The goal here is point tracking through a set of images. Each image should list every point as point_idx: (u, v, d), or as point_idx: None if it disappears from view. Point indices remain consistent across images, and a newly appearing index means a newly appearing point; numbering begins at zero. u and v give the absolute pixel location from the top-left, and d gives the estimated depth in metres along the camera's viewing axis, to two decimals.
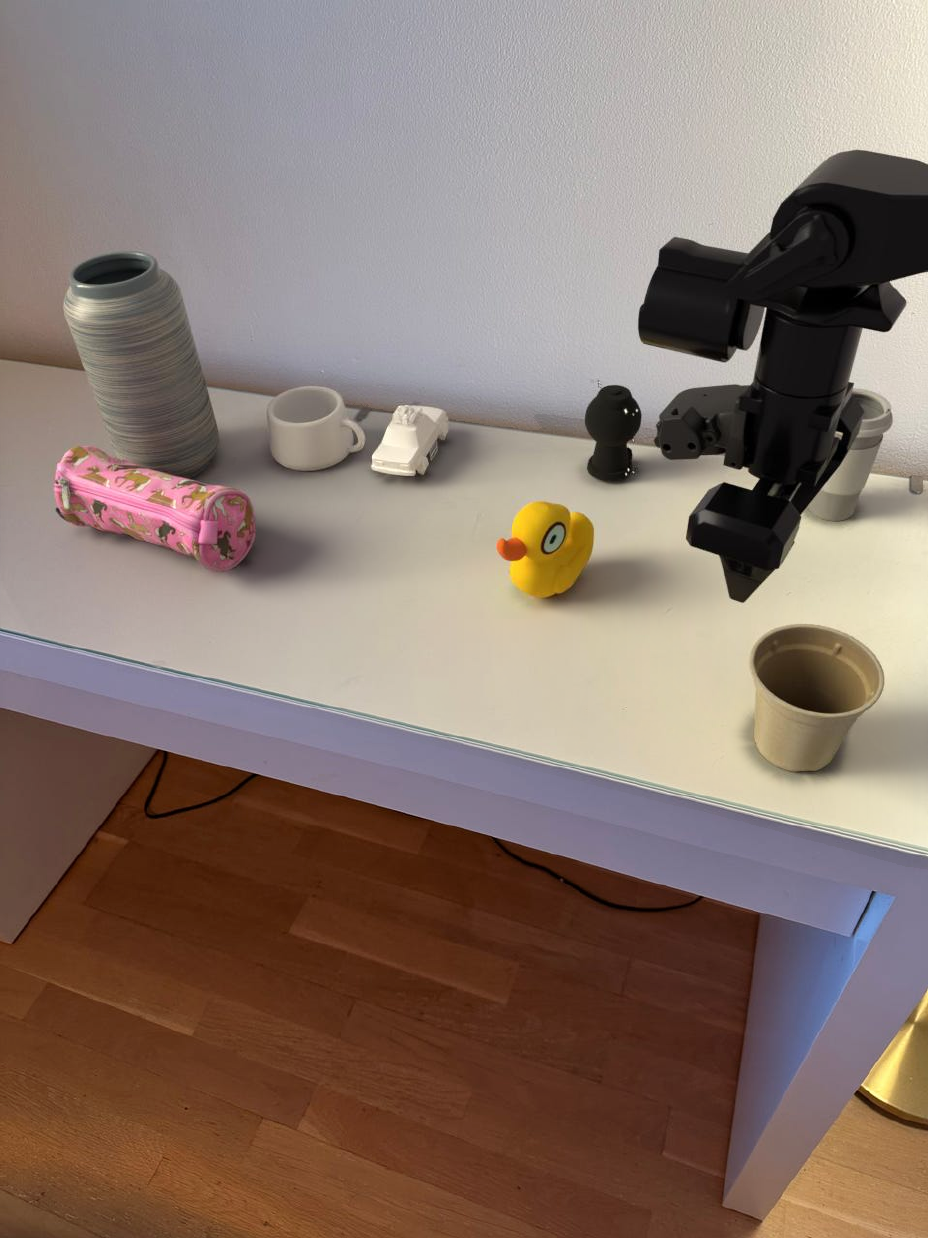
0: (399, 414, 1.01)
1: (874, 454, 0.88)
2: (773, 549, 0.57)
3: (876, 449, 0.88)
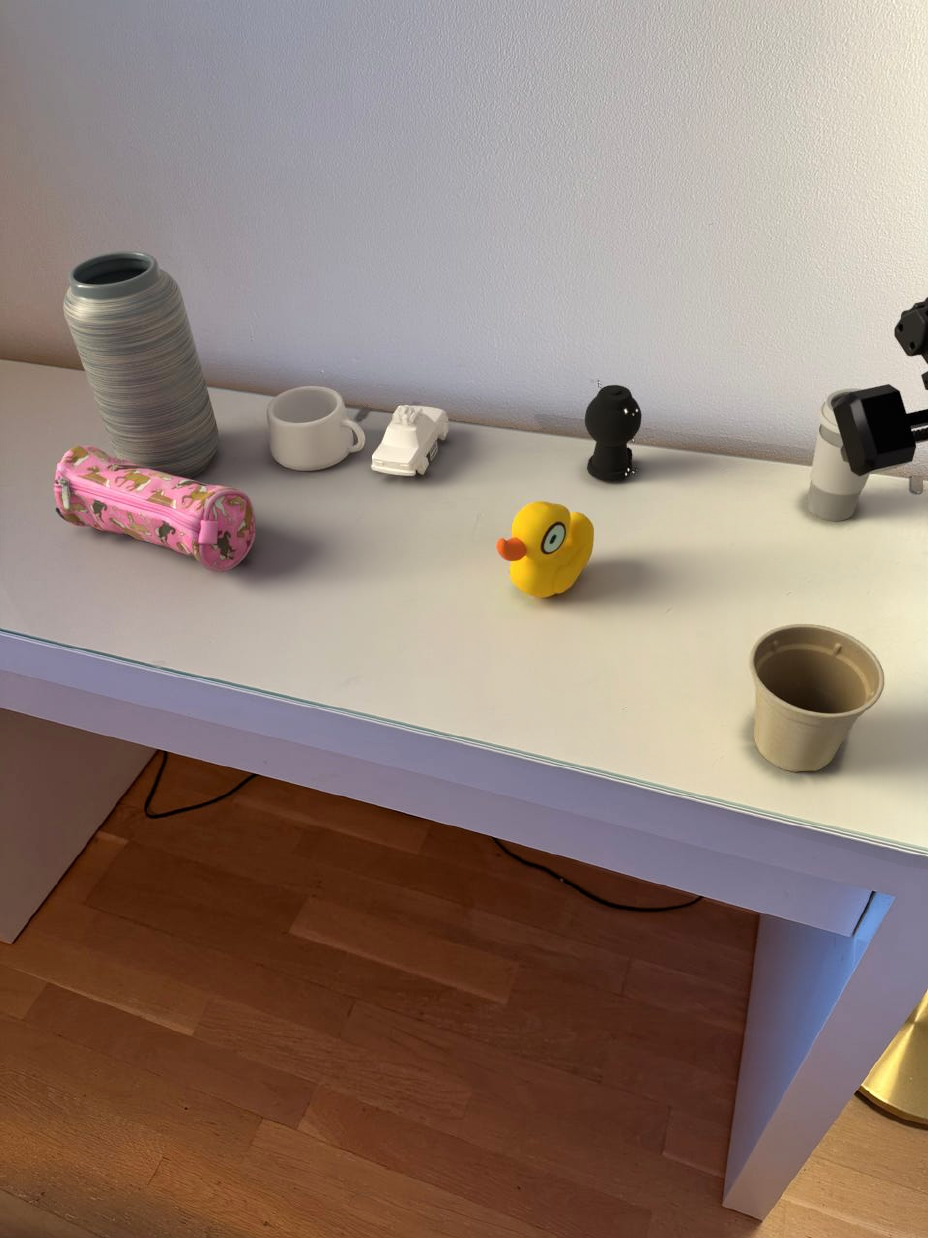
0: (399, 414, 1.01)
1: None
2: (865, 465, 0.69)
3: None
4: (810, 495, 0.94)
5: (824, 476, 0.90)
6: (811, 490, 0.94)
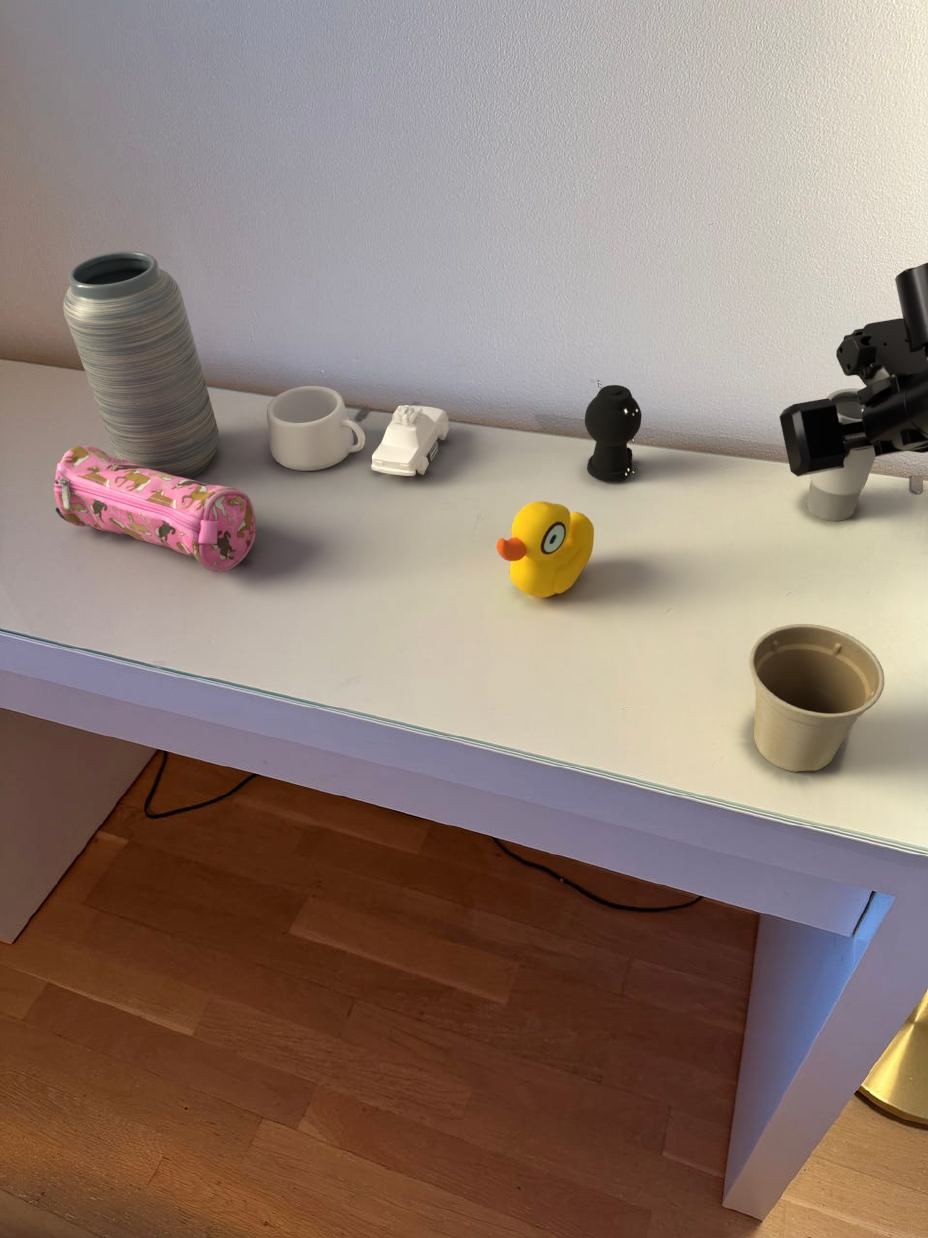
0: (399, 414, 1.01)
1: (873, 454, 0.88)
2: (801, 468, 0.82)
3: None
4: (810, 495, 0.94)
5: (824, 476, 0.91)
6: (811, 490, 0.94)
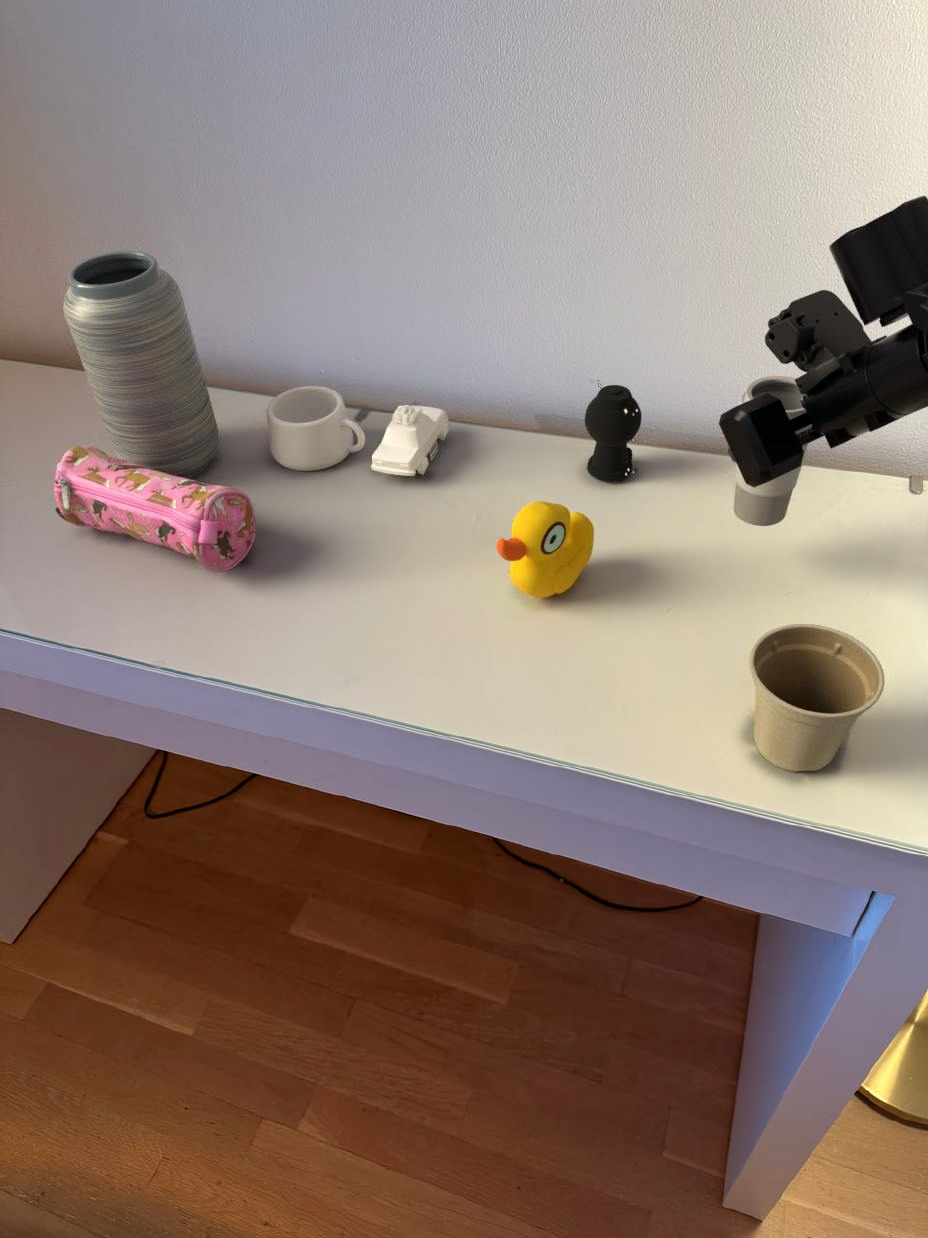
0: (399, 414, 1.01)
1: (807, 445, 0.78)
2: (761, 478, 0.70)
3: None
4: (739, 502, 0.83)
5: None
6: (740, 497, 0.83)
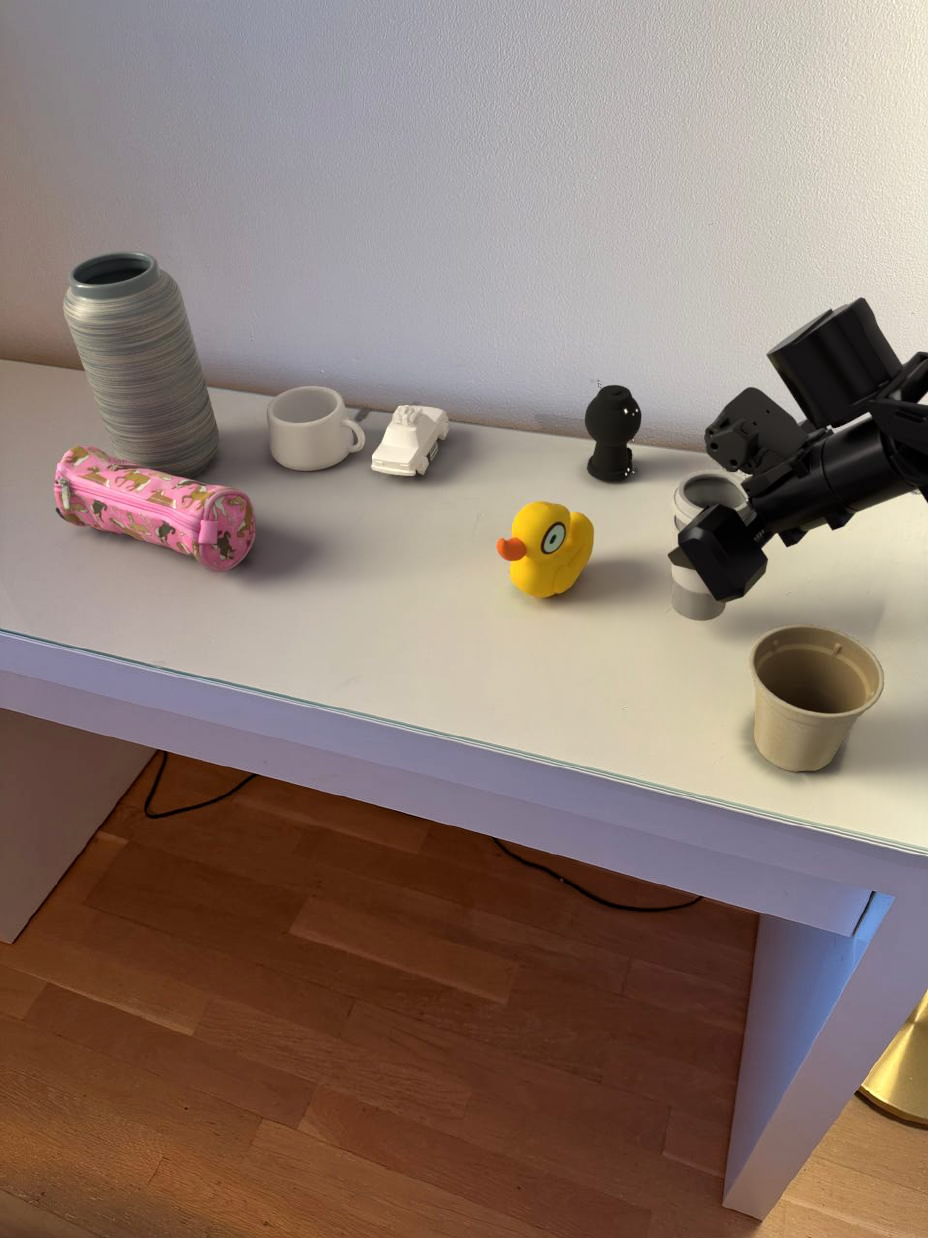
0: (399, 414, 1.01)
1: None
2: (735, 595, 0.66)
3: None
4: (682, 601, 0.79)
5: None
6: (682, 596, 0.79)
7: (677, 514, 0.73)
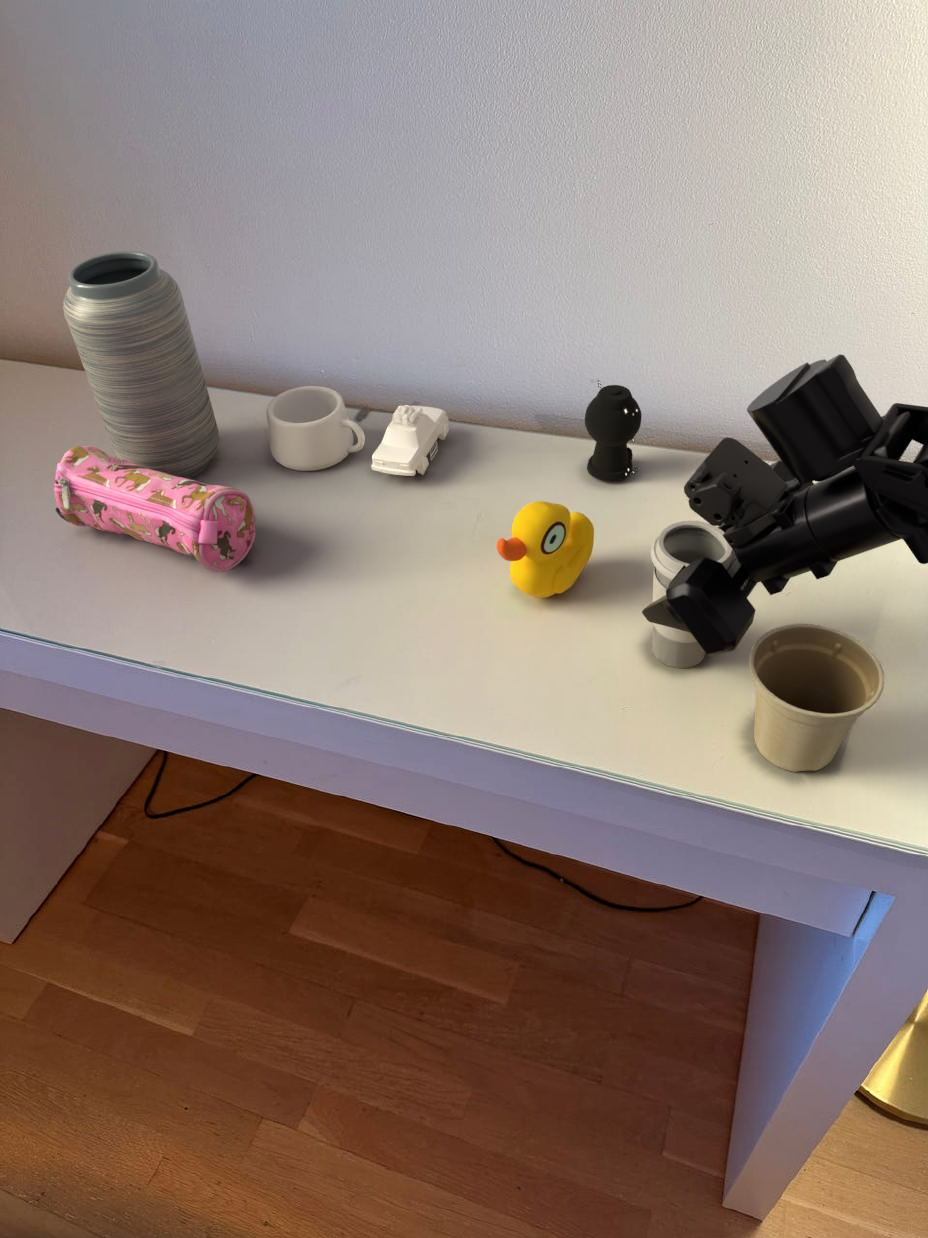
0: (399, 414, 1.01)
1: None
2: (726, 649, 0.66)
3: None
4: (664, 650, 0.79)
5: None
6: (664, 645, 0.79)
7: (659, 568, 0.73)
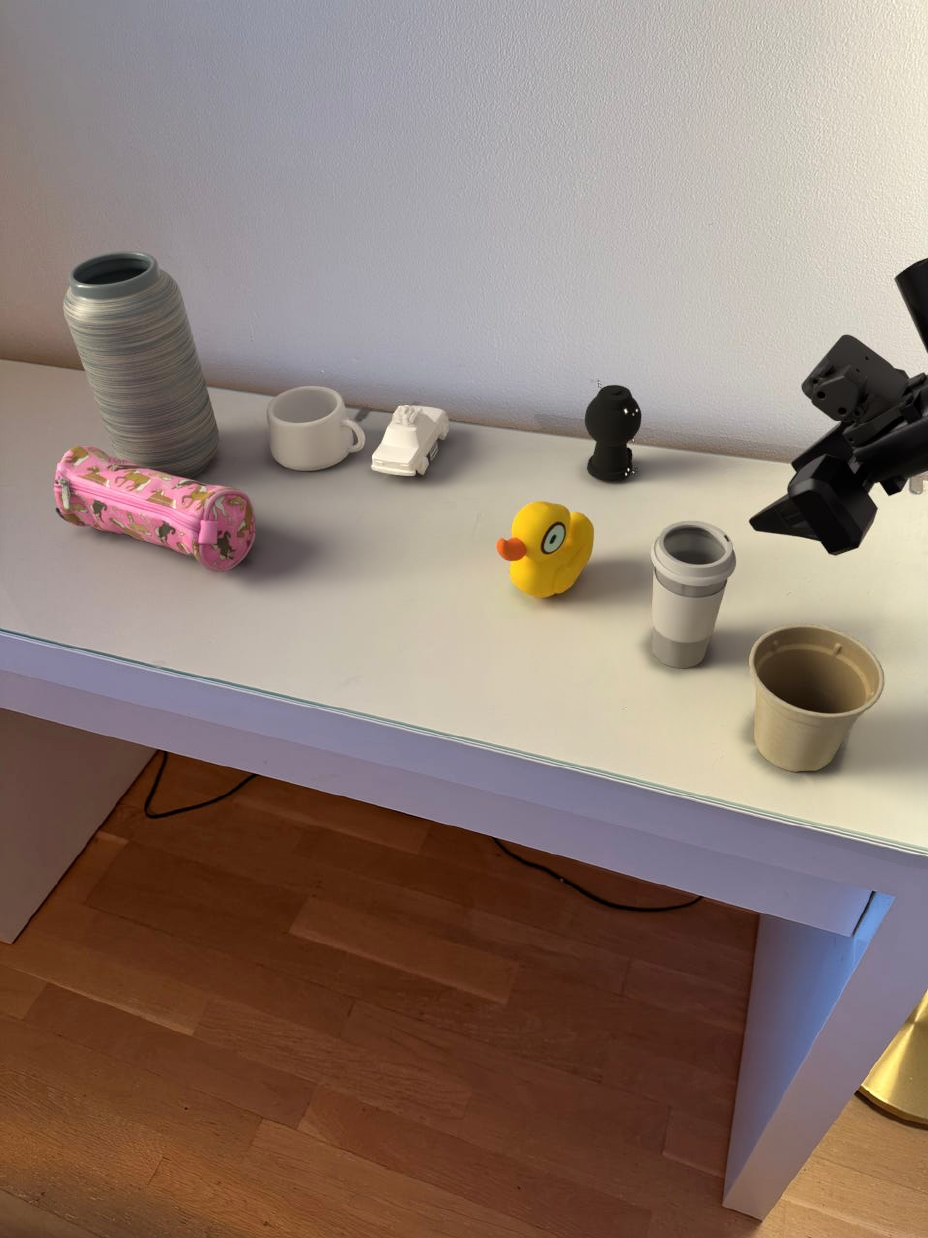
0: (399, 414, 1.01)
1: (724, 585, 0.76)
2: (851, 546, 0.64)
3: (725, 579, 0.76)
4: (664, 650, 0.79)
5: (685, 629, 0.76)
6: (664, 645, 0.79)
7: (659, 568, 0.73)
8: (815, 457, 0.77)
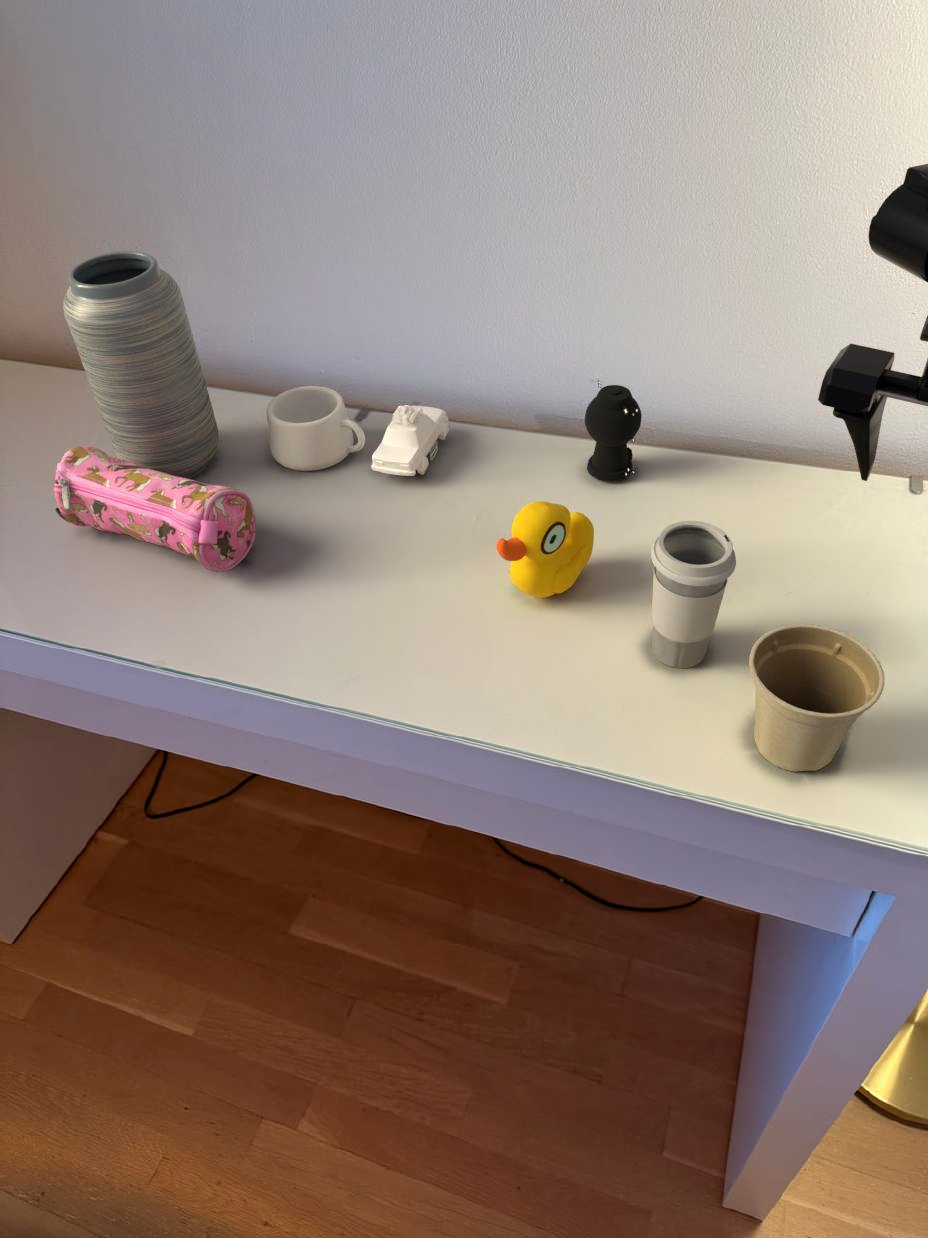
0: (399, 414, 1.01)
1: (724, 585, 0.76)
2: (824, 381, 0.71)
3: None
4: (664, 650, 0.79)
5: (685, 629, 0.76)
6: (664, 645, 0.79)
7: (659, 568, 0.73)
8: None
